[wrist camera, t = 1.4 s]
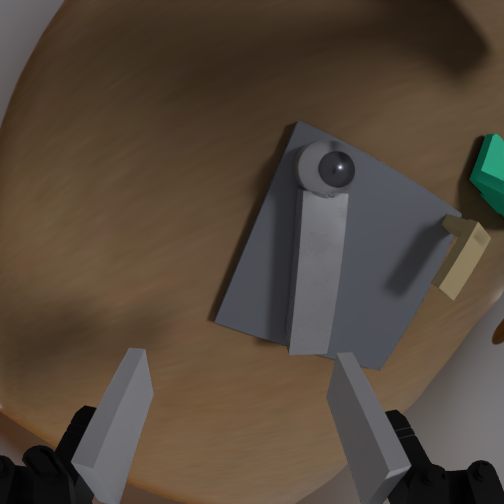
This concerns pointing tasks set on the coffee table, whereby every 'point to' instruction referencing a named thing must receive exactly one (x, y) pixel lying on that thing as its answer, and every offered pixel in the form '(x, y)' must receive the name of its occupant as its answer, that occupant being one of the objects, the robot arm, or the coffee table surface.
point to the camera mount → (491, 172)
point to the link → (317, 243)
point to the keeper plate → (354, 257)
